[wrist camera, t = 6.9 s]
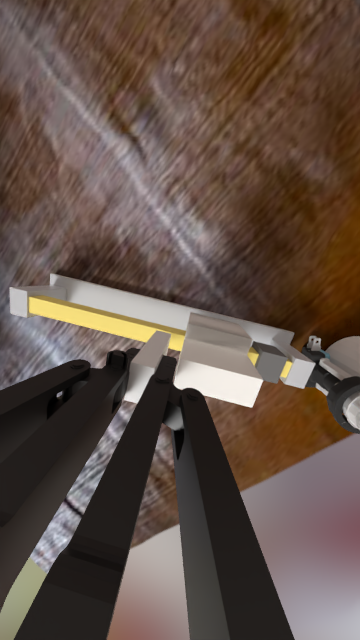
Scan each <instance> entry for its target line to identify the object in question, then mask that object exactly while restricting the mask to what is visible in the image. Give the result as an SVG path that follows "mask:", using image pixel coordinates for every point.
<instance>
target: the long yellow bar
mask: <svg viewBox="0 0 360 640" xmlns="http://www.w3.org/2000/svg"><path fill="white" fill-rule="evenodd" d="M29 313H33V314H37V315H41V316H45V317H49V318H53V319H57V320H61V321H64V322H68V323H72V324H76V325H80V326H84V327H88V328H92V329H96V330H100V331H104V332H108V333H112V334H116V335H119V336H123V337H127V338H131V339H135V340H139V341H143V342H147V341H148V340H149V339H150V338H151V336H152V335H153V334H154V333H155V332H156V330H158V331H162V332H166V333H170V334H171V338H170V342H169V347H168V348H170V349H174V350H178V351H181V350H182V346H183V342H184V338H185V334H186V331H185V330H181V329H177V328H173V327H169V326H165V325H160V324H156V323H152V322H148V321H144V320H140V319H136V318H132V317H128V316H124V315H120V314H116V313H112V312H108V311H104V310H100V309H96V308H92V307H88V306H84V305H80V304H76V303H72V302H68V301H64V300H60V299H56V298H52V297H48V296H44V295H40V296H31V297H29ZM247 356H248V357H249V359H250V360H251V362H252V363H253V365H254V366H255V368H256V370H257V371H258V373H259V374H260V376H261V377H262V379H263V380H265V381H268V382H272V383H276V384H277V382H278V380H279V378H280V377H284V378H286V377H287V374H288V372H289V370H290V367H291V365H292V362H291V361H290V360H289V359H288V357H286V356H285V355H284V354H283V353H282V352H281V351H280V350H278V349H277V348H276V347H275V346H272V345H268V344H263V343H259V342H255V341H253V343H252V346H251V347H250V349H249V351H248V354H247Z"/></svg>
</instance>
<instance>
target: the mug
mask: <svg viewBox="0 0 360 640" xmlns="http://www.w3.org/2000/svg"><path fill="white" fill-rule="evenodd" d="M325 352H327V353H329V354H330V361H331V363H333V364H334V365H336V366H337V367H339V368H341V369H342V370H344V371H345V372H347V373H348V374H350V375H351V376H359V377H360V336H352V337H347V338H343V339H341V340H339V341H337V342H335V343H334V344H332V345H331V346H330V347H329V348H328V349H327V350H326V351H325Z"/></svg>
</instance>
